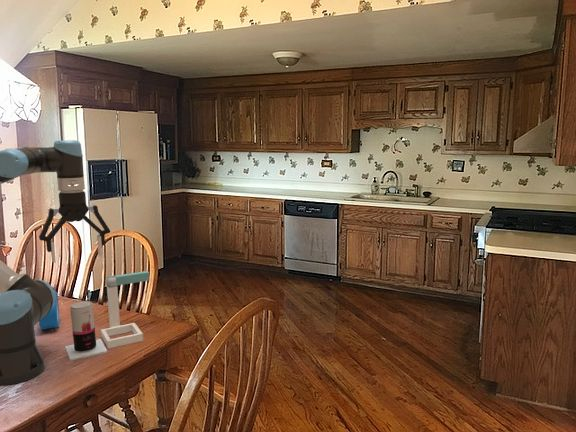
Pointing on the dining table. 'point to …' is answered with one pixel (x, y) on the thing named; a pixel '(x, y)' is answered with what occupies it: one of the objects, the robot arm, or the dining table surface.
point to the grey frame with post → (118, 324)
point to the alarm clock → (51, 316)
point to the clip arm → (127, 278)
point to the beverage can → (83, 326)
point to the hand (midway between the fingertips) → (77, 258)
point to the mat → (78, 355)
